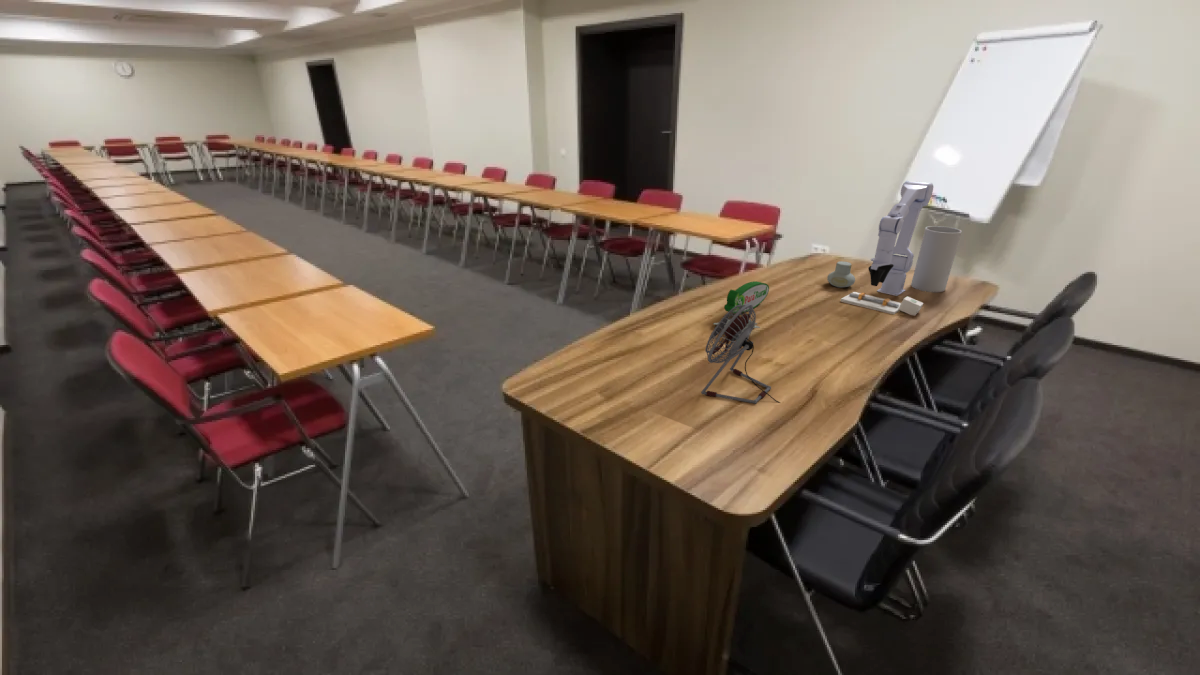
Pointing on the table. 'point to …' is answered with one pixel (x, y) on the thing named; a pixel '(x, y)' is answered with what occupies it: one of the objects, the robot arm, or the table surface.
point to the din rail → (874, 300)
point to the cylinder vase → (935, 258)
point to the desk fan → (733, 347)
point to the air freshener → (841, 275)
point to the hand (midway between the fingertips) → (877, 283)
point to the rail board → (871, 303)
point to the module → (910, 306)
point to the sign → (747, 295)
